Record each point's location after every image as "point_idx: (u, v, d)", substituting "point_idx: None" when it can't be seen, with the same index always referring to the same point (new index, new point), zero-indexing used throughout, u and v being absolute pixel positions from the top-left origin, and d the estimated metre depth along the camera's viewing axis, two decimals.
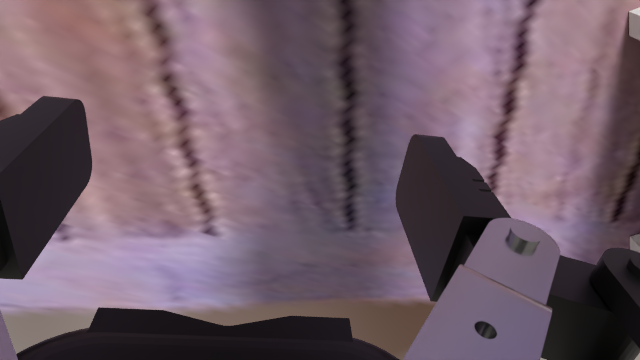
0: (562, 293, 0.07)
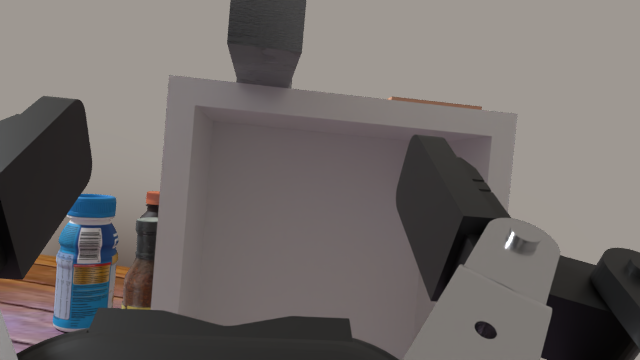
0: (562, 293, 0.07)
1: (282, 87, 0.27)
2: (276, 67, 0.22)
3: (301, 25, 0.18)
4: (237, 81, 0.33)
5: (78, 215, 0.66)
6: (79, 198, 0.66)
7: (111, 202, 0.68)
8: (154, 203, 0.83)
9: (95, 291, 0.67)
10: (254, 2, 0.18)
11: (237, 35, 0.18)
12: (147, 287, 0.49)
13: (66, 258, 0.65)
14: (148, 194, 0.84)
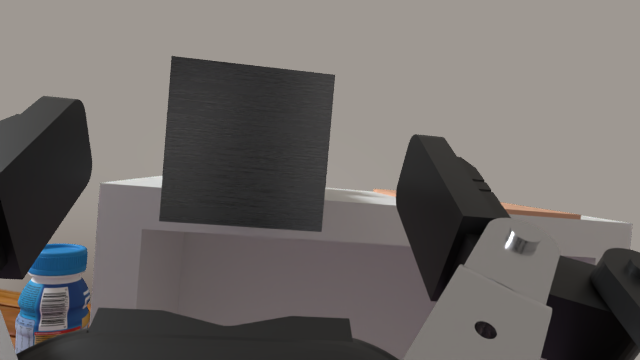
0: (562, 293, 0.07)
1: None
2: None
3: (321, 176, 0.09)
4: None
5: (40, 273, 0.56)
6: (41, 253, 0.56)
7: (81, 256, 0.59)
8: None
9: None
10: (219, 130, 0.08)
11: (181, 203, 0.08)
12: None
13: (26, 325, 0.55)
14: None
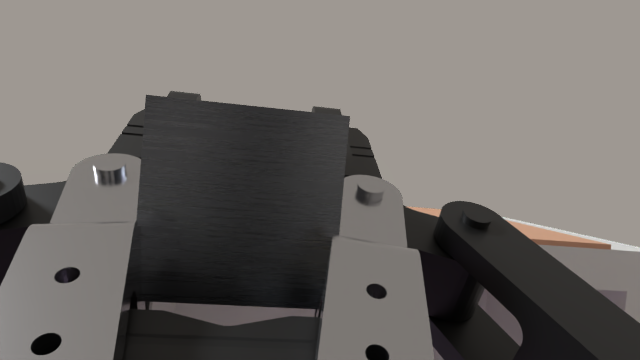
0: None
1: None
2: None
3: None
4: None
5: None
6: None
7: None
8: None
9: None
10: (206, 186, 0.07)
11: (158, 278, 0.07)
12: None
13: None
14: None
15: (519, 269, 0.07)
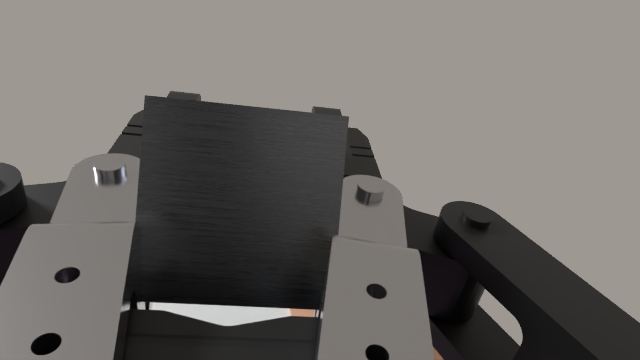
0: None
1: None
2: None
3: None
4: None
5: None
6: None
7: None
8: None
9: None
10: (204, 186, 0.07)
11: (157, 279, 0.07)
12: None
13: None
14: None
15: (519, 269, 0.07)
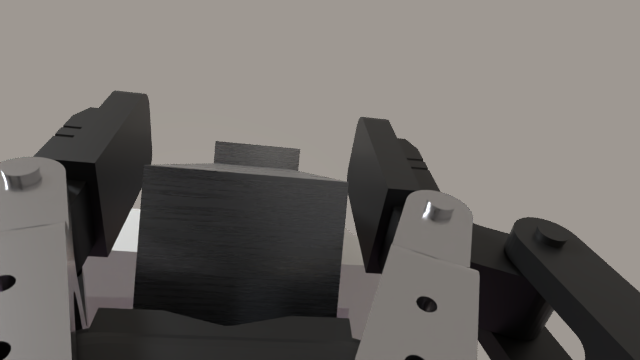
0: (474, 258, 0.08)
1: None
2: None
3: (331, 308, 0.07)
4: None
5: None
6: None
7: None
8: None
9: None
10: (204, 255, 0.07)
11: None
12: None
13: None
14: None
15: (589, 290, 0.07)
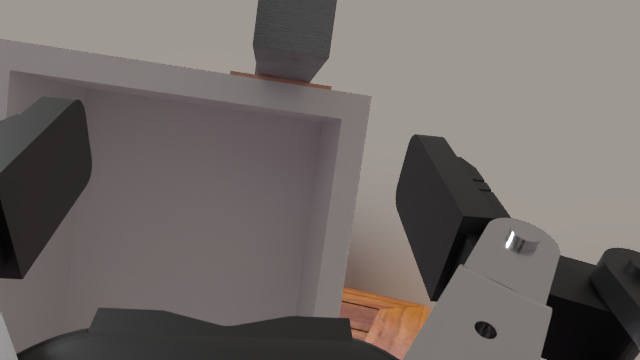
0: (562, 293, 0.07)
1: (303, 81, 0.27)
2: (300, 66, 0.21)
3: (330, 29, 0.18)
4: (256, 69, 0.32)
5: None
6: None
7: None
8: None
9: None
10: (283, 3, 0.17)
11: (263, 37, 0.17)
12: None
13: None
14: None
15: None
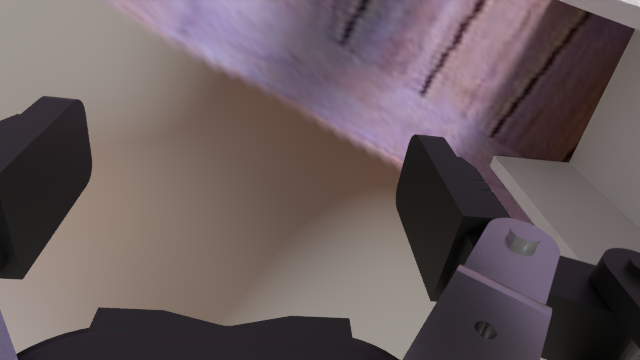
0: (562, 293, 0.07)
1: None
2: None
3: None
4: None
5: None
6: None
7: None
8: None
9: None
10: None
11: None
12: None
13: None
14: None
15: None
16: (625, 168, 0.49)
